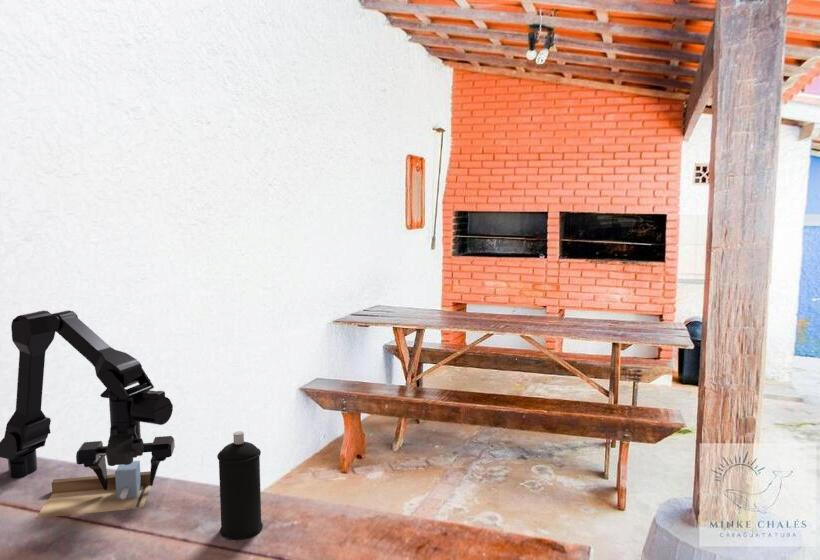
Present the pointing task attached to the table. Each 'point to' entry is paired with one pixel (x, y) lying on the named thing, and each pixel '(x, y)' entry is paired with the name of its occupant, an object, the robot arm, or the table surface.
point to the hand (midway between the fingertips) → (129, 487)
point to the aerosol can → (240, 489)
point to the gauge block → (128, 480)
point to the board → (90, 496)
